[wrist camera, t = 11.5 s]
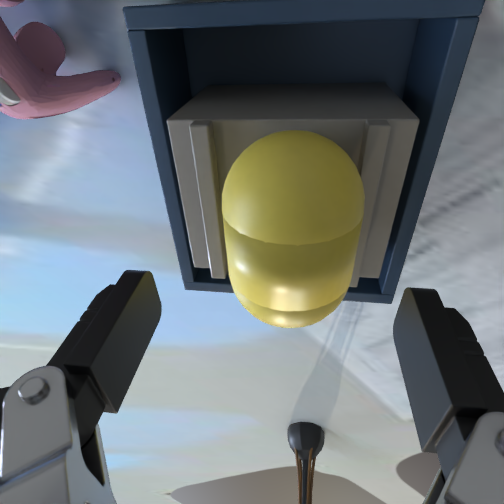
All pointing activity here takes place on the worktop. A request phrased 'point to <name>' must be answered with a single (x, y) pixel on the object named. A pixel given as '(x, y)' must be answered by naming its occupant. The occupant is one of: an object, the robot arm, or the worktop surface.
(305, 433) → the wooden tabletop sculpture
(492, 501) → the robot arm
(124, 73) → the worktop surface
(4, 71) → the video game controller
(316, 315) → the yellow capsule
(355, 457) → the worktop surface
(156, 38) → the crate
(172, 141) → the block
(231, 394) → the worktop surface
